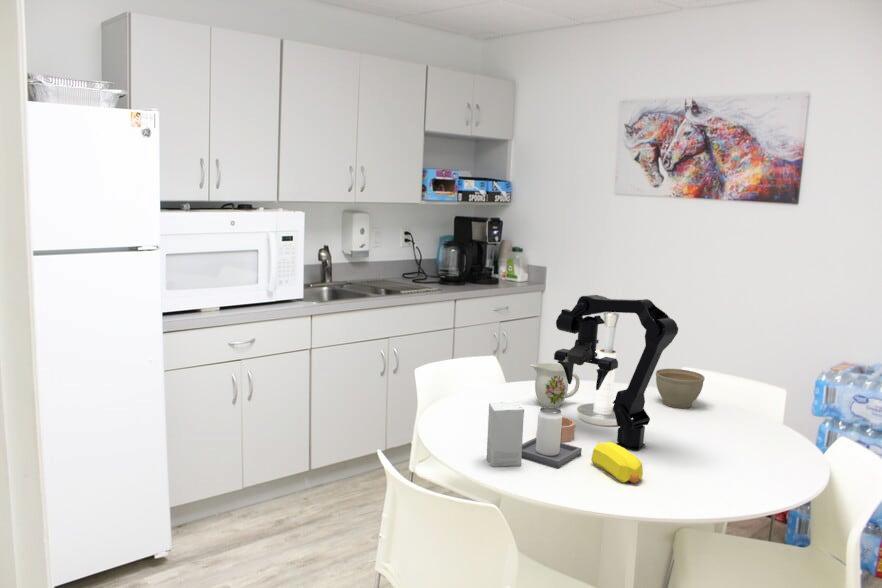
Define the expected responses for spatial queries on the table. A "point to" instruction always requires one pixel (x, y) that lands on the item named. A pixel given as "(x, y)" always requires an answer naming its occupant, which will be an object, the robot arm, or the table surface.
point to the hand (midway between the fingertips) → (583, 387)
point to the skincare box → (505, 434)
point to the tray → (557, 461)
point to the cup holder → (567, 429)
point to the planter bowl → (679, 386)
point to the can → (549, 431)
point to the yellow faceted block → (617, 462)
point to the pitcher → (552, 384)
